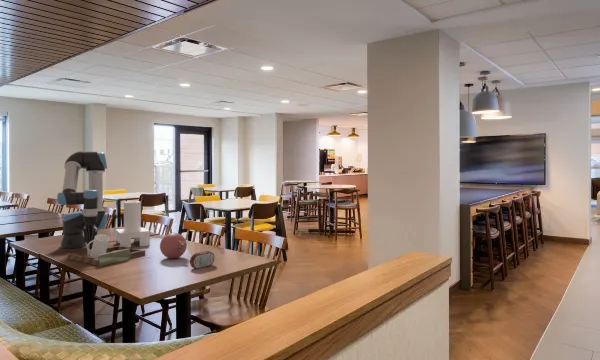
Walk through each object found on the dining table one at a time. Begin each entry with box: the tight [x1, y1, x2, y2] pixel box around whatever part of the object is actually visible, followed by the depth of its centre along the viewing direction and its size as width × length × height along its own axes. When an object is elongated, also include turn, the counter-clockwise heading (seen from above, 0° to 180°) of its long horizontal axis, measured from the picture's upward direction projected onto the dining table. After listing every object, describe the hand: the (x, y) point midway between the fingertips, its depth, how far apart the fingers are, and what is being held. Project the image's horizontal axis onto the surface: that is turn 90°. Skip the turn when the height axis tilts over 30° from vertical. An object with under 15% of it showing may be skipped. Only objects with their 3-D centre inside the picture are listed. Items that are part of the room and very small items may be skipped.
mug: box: [86, 234, 110, 259], centre depth 235 cm, size 12×8×12 cm
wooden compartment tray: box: [66, 245, 146, 267], centre depth 239 cm, size 32×31×6 cm
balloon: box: [159, 232, 188, 260], centre depth 236 cm, size 15×20×15 cm
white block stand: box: [115, 200, 151, 248], centre depth 277 cm, size 19×19×30 cm
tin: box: [189, 250, 215, 269], centre depth 218 cm, size 15×3×8 cm, turn 141°
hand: (90, 254), depth 238 cm, fingers closed
